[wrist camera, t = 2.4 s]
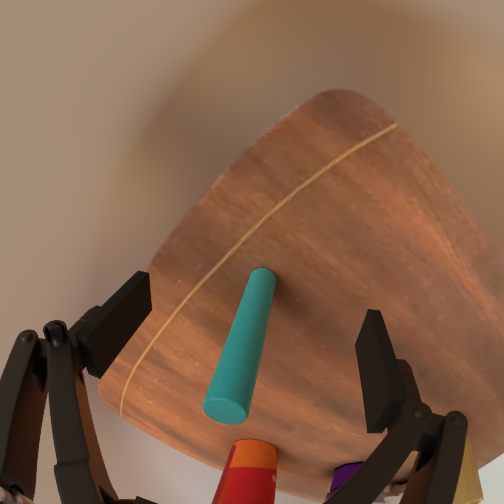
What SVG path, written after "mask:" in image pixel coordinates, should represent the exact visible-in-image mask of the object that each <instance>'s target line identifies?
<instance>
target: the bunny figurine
mask: <svg viewBox="0 0 504 504" xmlns="http://www.w3.org/2000/svg"><path fill="white" fill-rule="evenodd" d="M406 485H407V483H405V484H402V485H399V484H395V485H394V486H393V488H390V493H389V494H388V493H384V495H383V497H384V500H385V503H386V504H399V502H400V500H401V498H402V495H403V493H404V490H405V488H406Z"/></svg>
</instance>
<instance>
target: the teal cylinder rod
mask: <svg viewBox="0 0 504 504" xmlns="http://www.w3.org/2000/svg"><path fill="white" fill-rule="evenodd" d="M275 285H276V277H275V275H274V273H273V272H272V271H271V270H269V269H266V268H258V269H256V270H254V271H253V272H252V273H251V275H250V278H249V280H248V283H247V286H246V289H245V291H244V294H243V297H242V299H241V302H240V305H239V308H238V310H237V313H236V316H235V319H234V321H233V324H232V327H231V329H230V332H229V335H228V338H227V340H226V343H225V346H224V348H223V351H222V354H221V357H220V359H219V362H218V365H217V367H216V370H215V373H214V375H213V378H212V381H211V384H210V386H209V389H208V392H207V394H206V397H205V400H204V402H203V410H204V412H205V413H206V414H207V415H208V416H209V417H210V418H212V419H213V420H215V421H218V422H221V423H224V424H239V423H242V422H244V421H245V420H246V419H247V417H248V413H249V409H250V405H251V400H252V396H253V391H254V387H255V382H256V378H257V373H258V368H259V364H260V359H261V354H262V349H263V345H264V340H265V335H266V330H267V325H268V320H269V315H270V310H271V305H272V300H273V295H274V290H275Z"/></svg>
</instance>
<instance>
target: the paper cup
mask: <svg viewBox="0 0 504 504" xmlns="http://www.w3.org/2000/svg"><path fill="white" fill-rule="evenodd" d="M277 460H278V451H277V449H276V447H275V446H273V445H272V444H269V443H267V442H264V441H260V440H253V439H245V440H239V441H237V442H235V443H234V444H233V446H232V449H231V451H230V454H229V457H228V460H227V462H226V465H225V468H224V471H223V474H222V476H221V479H220V482H219V485H218V488H217V490H216V493H215V496H214V499H213V502H212V504H274V500H275V488H276V476H277Z"/></svg>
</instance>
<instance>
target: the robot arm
mask: <svg viewBox="0 0 504 504" xmlns="http://www.w3.org/2000/svg"><path fill="white" fill-rule="evenodd" d="M151 311H152V303H151V292H150V280H149V273H147V272H142V271H137V273H135V274H134V275H133V276H132V277H131V278H130V279H129V280H128V281H127V282H126V283H125V284H124V285H123V286H122V287H121V288H120V289H119V290H118V291H117V292H116V293H115V294H114V295H113V296H112V297H110V298H109V299H108V300H107V301H106V303H104V305H102V306H101V307H100V306H95V307H93V308H91V309H90V310H88V311H87V312H86V313H85V314H84V316H82V317H81V318H80V320H78V321H77V322H76V323H75V324H74V325H73V326H72V327H71V328H70V329H69V330H67V327H66V324H65V323H64V322H63V321H60V320H54V321H50V322H49V323H47V324H46V325H45V326H44V328H43V332H44V335H45V338H46V339H41V338H38V335H37V333H36V332H35V331H34V330H25V331H23V332H21V333H20V334H19V335H18V337H17V339H16V341H15V344H14V346H13V348H12V350H11V353H10V355H9V358H8V361H7V363H6V366H5V369H4V371H3V374H2V376H1V379H0V504H34V503H33V498H34V494H35V486H36V472H37V460H38V459H37V458H38V450H39V442H40V434H41V426H42V421H43V415H44V409H45V404H46V399H47V394H48V392H49V406H50V416H51V425H52V433H53V439H54V446H55V451H56V458H57V464H56V465H55V466H54V473H55V478H56V483H57V487H58V491H59V495H60V499H61V503H62V504H157V503H154V502H152V501H149V500H146V499H143V498H141V497H138V496H137V497H136V499H135V500H132V499H120V500H119V498H118V496H117V494H116V492H115V490H114V489H113V487H112V485H111V482H110V480H109V477H108V474H107V471H106V468H105V464H104V461H103V458H102V455H101V452H100V448H99V444H98V440H97V437H96V433H95V429H94V425H93V420H92V416H91V412H90V408H89V402H88V397H87V391H86V386H85V380H84V375H83V373H82V371H83V369H84V368H85V367H86V368H87V371H88V373H89V374H90V375H92V376H94V377H97V378H99V379H101V377H102V376H103V375H104V373H105V372H106V371H107V369H108V368H109V366H110V365H111V364H112V362H113V361H114V360H115V358H116V357H117V356H118V354H119V353H120V351H121V350H122V349H123V347H124V346H125V345H126V343H127V342H128V341H129V339H130V338H131V337H132V336H133V334H134V333H135V332H136V330H137V329H138V328H139V326H140V325H141V324H142V322H143V321H144V320H145V318H146V317H147V316H148V315H149V313H150V312H151ZM355 349H356V354H357V360H358V367H359V373H360V379H361V386H362V393H363V401H364V408H365V416H366V425H367V433H382V432H383V431H384V430H385V428H386V427H387V429H388V434H387V435H386V437H385V438H384V439H383V440H382V441H381V443H380V444H379V445H378V446H377V448H376V449H375V450H374V451H373V452H372V454H371V455H370V456H369V457H368V458H367V459H366V460H365V462H364V463H363V464H362V465H361V466H360V467H359V468H358V469H357V470H356V471H355V473H354V474H353V475H352V476H351V477H350V478H349V479H348V480H347V481H346V482H345V483H344V484H343V485H342V486H341V487H340V488H339V489H338V490H337V491H336V492H335V493H334V494H333V495H332V496H331V497H330V498H329V499H327V500H326V501H325V502H324V503H323V504H372V503H373V502H374V501H375V499H376V498H377V497H378V496H379V495H380V493H381V492H382V491H383V490H384V488H385V487H386V486H387V485H388V483H389V482H390V481H391V479H392V478H393V477H394V475H395V474H396V473H397V471H398V470H399V469H400V467H401V466H402V464H403V463H404V462H405V460H406V459H407V457H408V456H409V454H410V453H411V451H416V452H418V454H417V457H416V460H415V463H414V466H413V469H412V472H411V474H410V477H409V480H408V483H407V485H406V488H405V490H404V493H403V495H402V498H401V500H400V502H399V504H453V500H454V496H455V493H456V489H457V485H458V480H459V476H460V471H461V466H462V461H463V455H464V449H465V443H466V436H467V427H468V421H467V418H466V416H465V415H464V414H463V413H461V412H459V411H451V412H449V413H448V414H447V415H446V416H441V415H437V414H434V413H432V411H431V409H430V407H429V406H428V405H426V404H425V403H423V402H422V401H421V398H420V394H419V391H418V388H417V385H416V382H415V378H414V376H413V372H412V369H411V366H410V365H409V364H408V363H407V362H406V360H400V359H396V357H395V354H394V350H393V347H392V344H391V341H390V338H389V335H388V332H387V329H386V326H385V323H384V320H383V317H382V315H381V312H380V311H379V310H371V309H368V311H367V314H366V317H365V320H364V322H363V325H362V328H361V330H360V333H359V336H358V338H357V341H356V344H355Z"/></svg>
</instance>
